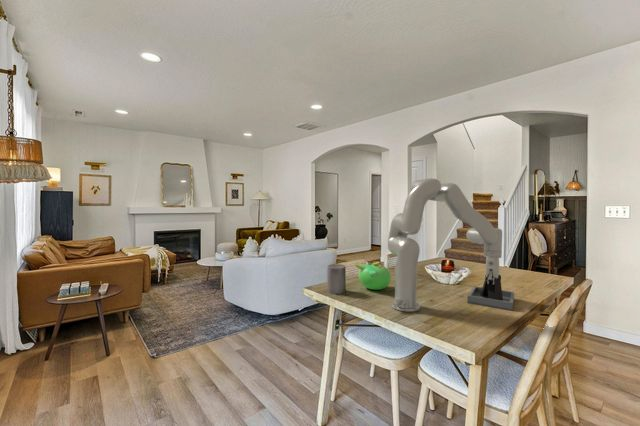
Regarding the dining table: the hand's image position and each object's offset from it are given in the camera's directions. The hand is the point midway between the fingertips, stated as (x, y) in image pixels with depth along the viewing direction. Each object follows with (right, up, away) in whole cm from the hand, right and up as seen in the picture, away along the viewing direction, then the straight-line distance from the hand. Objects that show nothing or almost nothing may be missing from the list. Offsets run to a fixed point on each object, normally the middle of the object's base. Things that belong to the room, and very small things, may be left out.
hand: (491, 290), depth 146 cm
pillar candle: (-74, -4, +14) cm, 76 cm away
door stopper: (0, -4, 0) cm, 4 cm away
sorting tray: (0, -5, 0) cm, 5 cm away
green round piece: (-54, -4, +19) cm, 57 cm away
